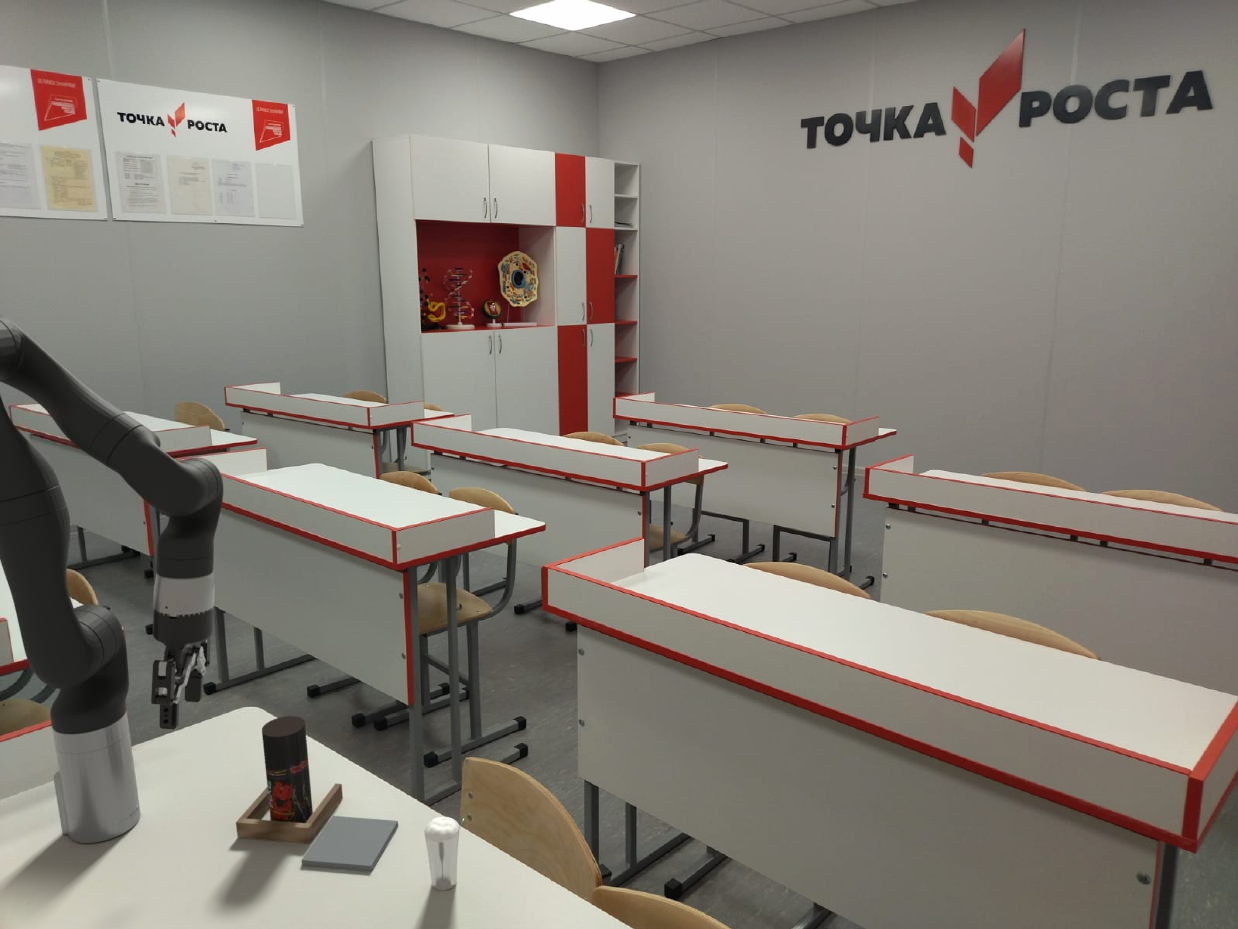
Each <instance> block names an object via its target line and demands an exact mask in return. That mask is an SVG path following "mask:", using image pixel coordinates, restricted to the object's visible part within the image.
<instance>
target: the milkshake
mask: <svg viewBox="0 0 1238 929" xmlns="http://www.w3.org/2000/svg"><path fill="white" fill-rule="evenodd" d="M464 820H465V818H463V819H462V821H461V823H460V824H459V823H458V821H457V820H455V819H454V818H451V817H449V816H438V817H435V818H433V819H430V820H429V822H428V823H427V825H426V826H425V827H424V830H423V832H424V838H425V840H424V841H425V844H426V851H427V857H428V864H429V871H430V878H431V885H432V887H433V888H434V889H435V890H438V891H446V890H451V889H452V888H453V887H454V886H456V884H457V880H458V877H457V876H458V875H457V874H458V855H459V854H458V852H459V841H460V840H459V839H460V829H461V826H462V824H463V822H464Z"/></svg>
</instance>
